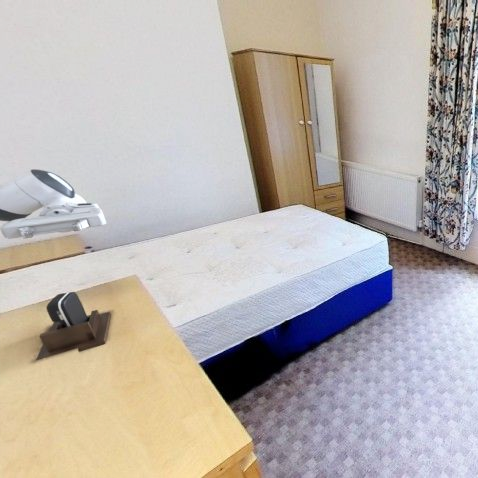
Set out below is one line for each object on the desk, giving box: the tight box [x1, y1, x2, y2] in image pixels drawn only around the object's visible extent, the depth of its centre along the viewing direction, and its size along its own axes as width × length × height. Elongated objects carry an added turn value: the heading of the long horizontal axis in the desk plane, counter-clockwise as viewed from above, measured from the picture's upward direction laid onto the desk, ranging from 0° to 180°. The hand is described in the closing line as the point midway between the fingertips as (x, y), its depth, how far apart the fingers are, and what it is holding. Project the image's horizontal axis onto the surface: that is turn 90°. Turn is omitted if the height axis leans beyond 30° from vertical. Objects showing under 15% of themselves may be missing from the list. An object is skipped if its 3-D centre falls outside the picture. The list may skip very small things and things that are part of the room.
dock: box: [35, 309, 112, 361], centre depth 84 cm, size 12×15×6 cm
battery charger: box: [46, 291, 89, 327], centre depth 83 cm, size 7×4×11 cm, turn 25°
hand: (52, 231), depth 87 cm, fingers open, 8 cm apart
